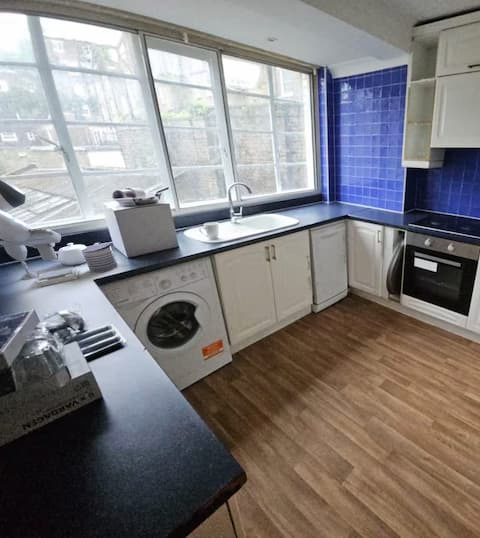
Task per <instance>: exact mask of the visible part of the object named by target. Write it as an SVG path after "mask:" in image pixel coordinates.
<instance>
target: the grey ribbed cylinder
mask: <svg viewBox="0 0 480 538" xmlns="http://www.w3.org/2000/svg"><path fill="white" fill-rule="evenodd" d="M86 247H87V248H85V249H83V250H81V251H82V253H83V255H84V257H85V260H86V262H85V263H86V265H87V267H88V269H89V271H90V273H94V274H98V273H105V272H108V271H112V270H115V269H116V268H118V266H119V264H118V261H117V259H116V256H115V253H114V251H113V248H112V246H111V243H109V242H103V243H98V244H97V245H94V244H93V245H90V246H86Z"/></svg>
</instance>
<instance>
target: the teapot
mask: <svg viewBox="0 0 480 538" xmlns="http://www.w3.org/2000/svg"><path fill="white" fill-rule="evenodd" d="M97 244H101V242H95V243H94V244H93V245H97ZM66 245H67V246H64V247H60V248H59V249H58V250H57V251H55V253H56V254H57V259H55V260H52V261H53V262H57V263H60V264H62V265H66V266H75V265H80V264H84V263H87V262H86V260H85V257H84V255H83V253H82V251H81V250H83V249H85V248H87V247H88V246H86V245H85V244H81V243H80V244H79V243H78V244H74V242H69V243H66Z"/></svg>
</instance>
